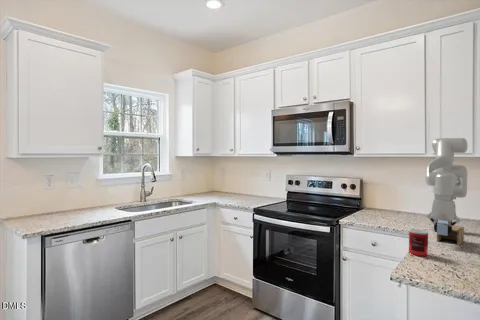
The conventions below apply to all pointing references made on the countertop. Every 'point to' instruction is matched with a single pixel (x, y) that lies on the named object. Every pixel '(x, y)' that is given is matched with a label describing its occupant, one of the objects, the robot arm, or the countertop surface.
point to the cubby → (454, 235)
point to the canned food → (418, 242)
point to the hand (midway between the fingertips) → (442, 232)
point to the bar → (442, 228)
